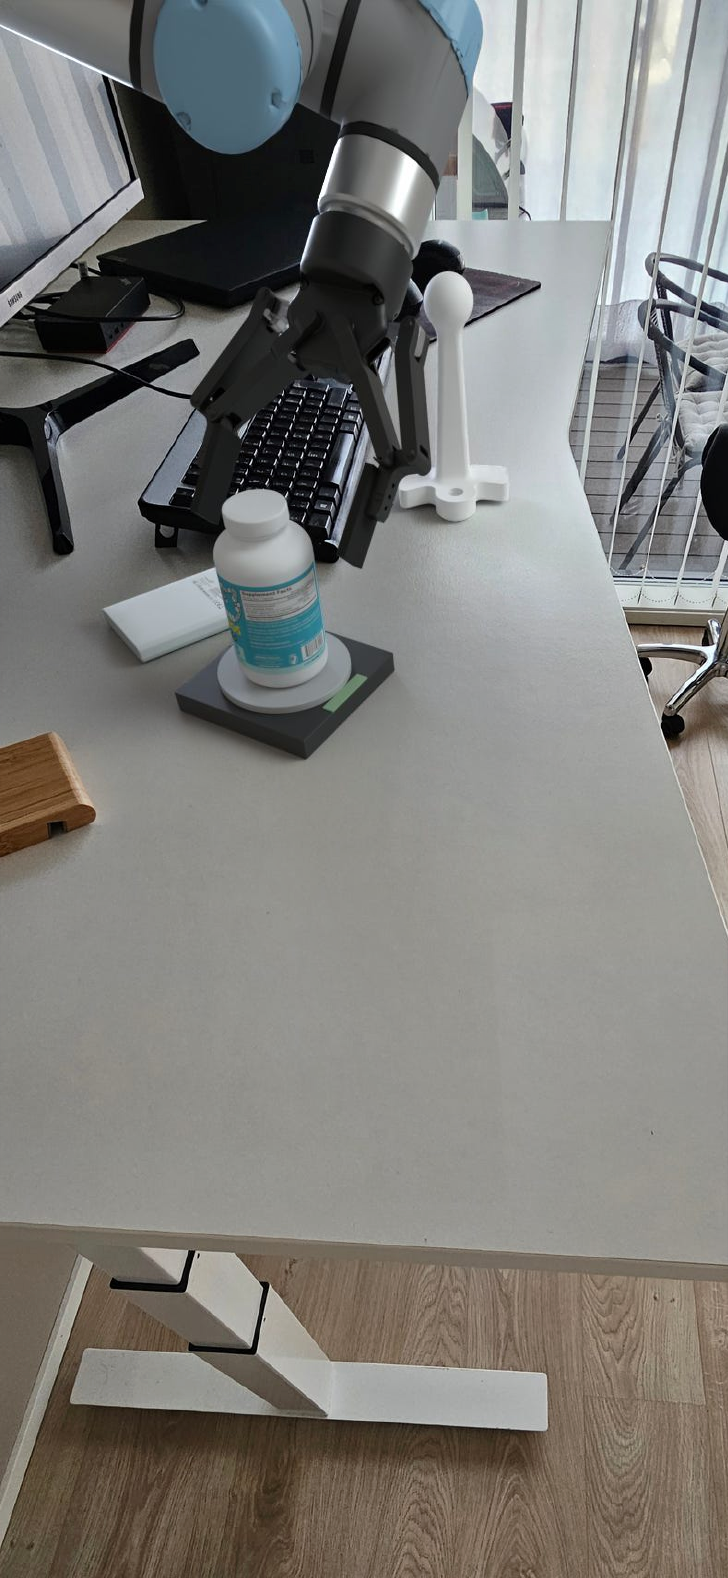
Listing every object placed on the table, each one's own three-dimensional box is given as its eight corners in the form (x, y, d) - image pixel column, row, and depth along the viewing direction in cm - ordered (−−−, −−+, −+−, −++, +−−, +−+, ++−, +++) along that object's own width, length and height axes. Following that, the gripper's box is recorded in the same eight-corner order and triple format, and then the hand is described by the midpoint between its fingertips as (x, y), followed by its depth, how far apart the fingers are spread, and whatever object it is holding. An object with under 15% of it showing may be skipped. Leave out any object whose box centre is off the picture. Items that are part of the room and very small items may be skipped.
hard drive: (106, 623, 90) (227, 576, 94) (143, 665, 86) (268, 615, 90) (100, 607, 89) (223, 560, 93) (138, 649, 85) (265, 598, 89)
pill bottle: (244, 639, 83) (209, 480, 73) (331, 636, 83) (309, 476, 73) (234, 694, 79) (195, 533, 68) (326, 691, 79) (302, 529, 68)
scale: (179, 710, 82) (171, 685, 80) (272, 629, 89) (268, 604, 87) (306, 759, 78) (302, 734, 76) (395, 670, 84) (392, 645, 82)
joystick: (504, 483, 103) (507, 259, 88) (512, 519, 99) (518, 291, 83) (398, 490, 103) (383, 268, 88) (402, 527, 99) (386, 299, 83)
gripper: (538, 297, 69) (435, 597, 73) (255, 246, 77) (178, 517, 82) (503, 230, 62) (392, 565, 66) (197, 182, 71) (115, 482, 75)
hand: (273, 539), depth 74 cm, fingers open, 13 cm apart
